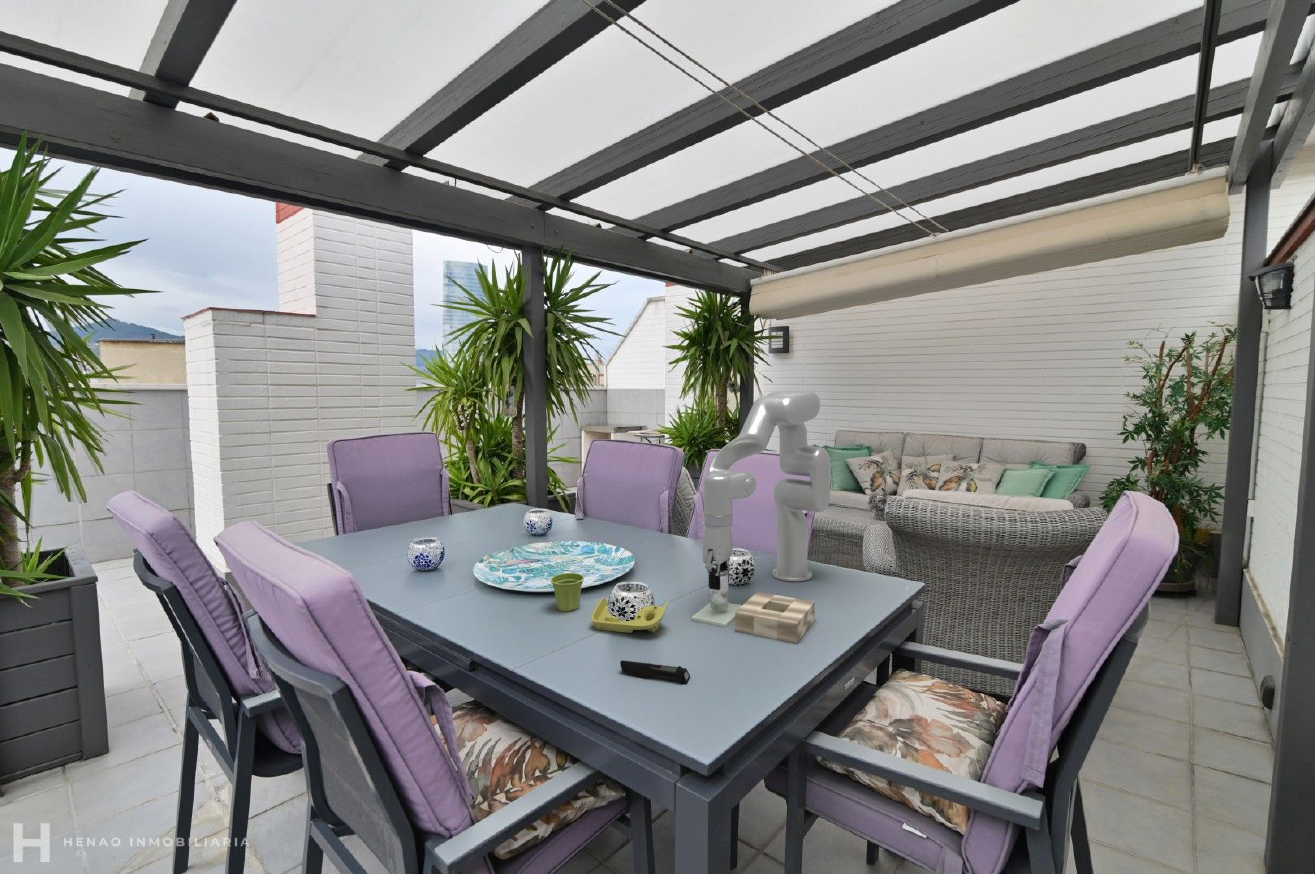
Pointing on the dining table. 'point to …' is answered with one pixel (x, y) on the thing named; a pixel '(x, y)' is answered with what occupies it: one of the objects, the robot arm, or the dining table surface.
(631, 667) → the electric trimmer
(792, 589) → the dining table surface
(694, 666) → the dining table surface
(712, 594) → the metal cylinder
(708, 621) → the mat
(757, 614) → the bore block
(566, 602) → the plant pot
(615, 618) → the plastic component
